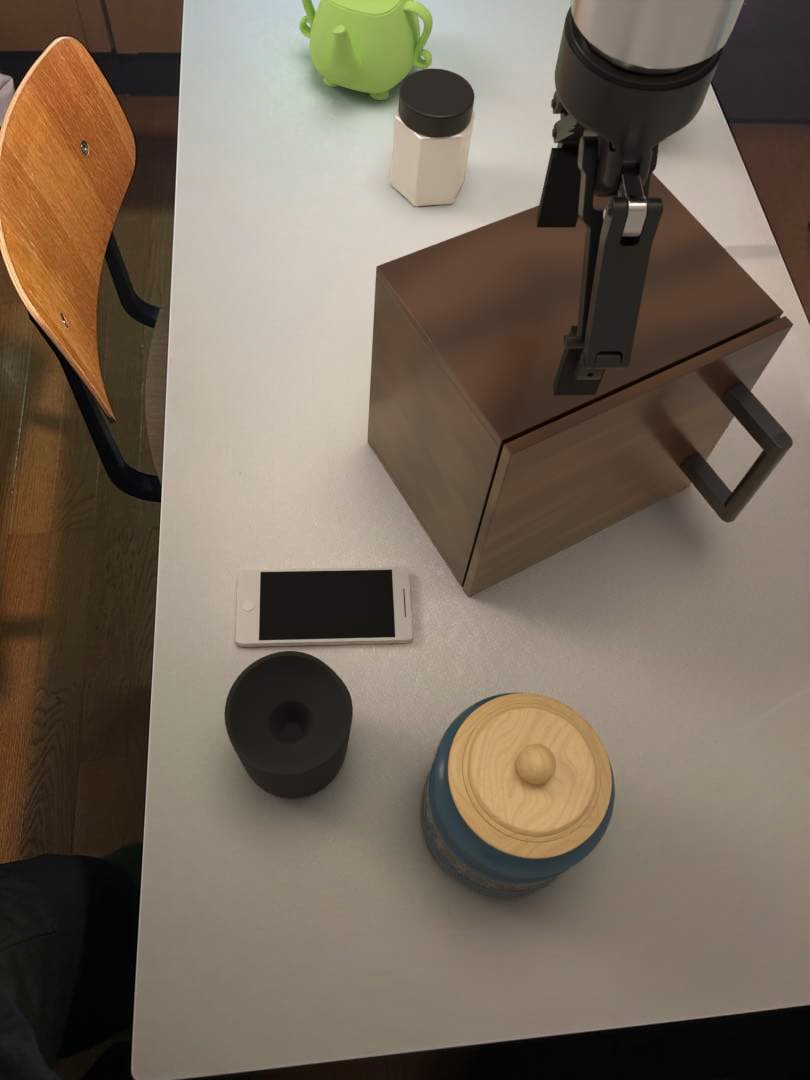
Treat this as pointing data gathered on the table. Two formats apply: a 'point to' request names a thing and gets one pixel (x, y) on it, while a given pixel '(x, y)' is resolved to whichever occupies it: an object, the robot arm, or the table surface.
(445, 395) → the cupboard
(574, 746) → the canister
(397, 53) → the teapot
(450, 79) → the jar
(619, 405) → the cupboard door
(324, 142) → the table surface
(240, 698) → the pen holder
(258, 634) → the smartphone
